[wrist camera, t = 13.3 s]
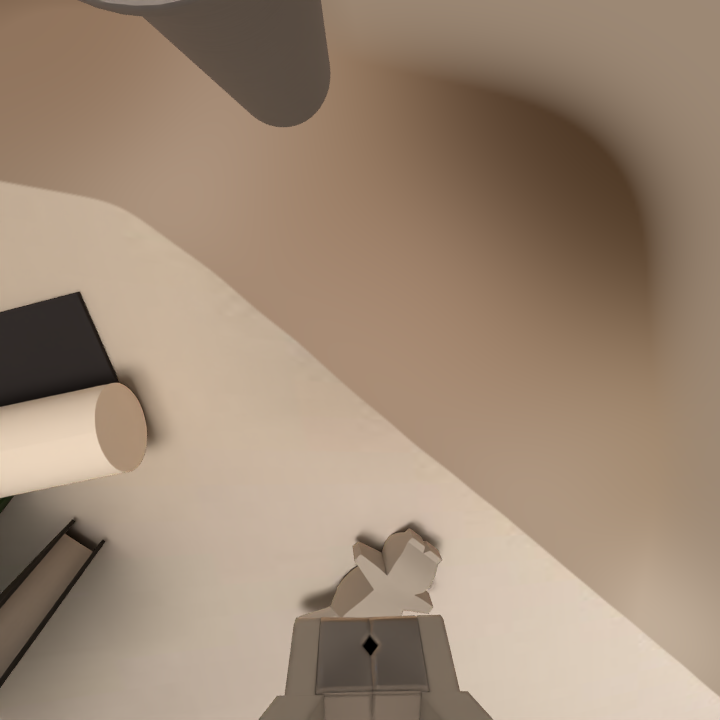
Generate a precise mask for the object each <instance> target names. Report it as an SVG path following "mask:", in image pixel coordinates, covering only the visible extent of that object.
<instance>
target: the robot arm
mask: <svg viewBox="0 0 720 720" xmlns="http://www.w3.org/2000/svg"><path fill="white" fill-rule="evenodd" d="M259 720H493V719H492V718H491V717H490V716H489V714H488V713H487V712H486V711H485V710H484V709H483V708H482V707H481V706H480V705H479V703H478V702H477V701H476V700H475V699H474V698H473V697H472V696H471V695H470V693H469V692H468V691H460V689H459V685H458V681H457V677H456V672H455V668H454V664H453V659H452V655H451V651H450V646H449V642H448V638H447V633H446V629H445V625H444V620H443V618H442V617H441V615H419V616H415V615H413V616H382V617H368V618H356V617H321V618H296V620H295V623H294V627H293V635H292V643H291V651H290V658H289V666H288V674H287V681H286V689H285V696H277V697H276V698H275V699H274V700H273V702H272V703H271V704H270V706H269V707H268V708H267V709H266V711H265V712H264V713H263V715H262V716H261V717H260V718H259Z"/></svg>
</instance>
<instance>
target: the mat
mask: <svg viewBox="0 0 720 720" xmlns="http://www.w3.org/2000/svg"><path fill="white" fill-rule="evenodd" d="M110 383H119V381H118V379H117V377H116V375H115V372H114V370H113V368H112V365H111V363H110V361H109V359H108V356H107V354H106V352H105V350H104V347H103V345H102V343H101V340H100V338H99V336H98V334H97V331H96V329H95V327H94V325H93V322H92V320H91V318H90V315H89V313H88V311H87V309H86V306H85V304H84V302H83V300H82V297H81V295H80V293H79V292H77V293H73V294H69V295H65V296H61V297H57V298H54V299H50V300H46V301H42V302H38V303H34V304H31V305H27V306H23V307H19V308H15V309H11V310H7V311H4V312H0V407H2V406H7V405H12V404H16V403H21V402H26V401H30V400H35V399H40V398H45V397H49V396H54V395H59V394H63V393H68V392H73V391H77V390H82V389H87V388H92V387H96V386H101V385H106V384H110Z"/></svg>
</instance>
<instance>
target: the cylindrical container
mask: <svg viewBox="0 0 720 720" xmlns="http://www.w3.org/2000/svg"><path fill="white" fill-rule="evenodd" d="M146 446H147V427H146V421H145V417H144V413H143V410H142V407H141V405H140V403H139V401H138V399H137V398H136V396H135V395H134V394H133V392H132V391H131V390H130V389H129V388H127V387H126V386H125V385H123V384H120V383H110V384H106V385H101V386H96V387H92V388H87V389H82V390H77V391H73V392H68V393H63V394H59V395H54V396H49V397H45V398H40V399H35V400H30V401H26V402H21V403H16V404H12V405H7V406H2V407H0V498H3V497H8V496H12V495H17V494H22V493H27V492H32V491H37V490H42V489H47V488H52V487H57V486H62V485H66V484H71V483H76V482H81V481H86V480H91V479H96V478H101V477H106V476H111V475H115V474H120V473H125V472H130V471H133V470H135V469H136V468H137V467H138V466H139V465H140V463H141V462H142V460H143V457H144V455H145V451H146Z"/></svg>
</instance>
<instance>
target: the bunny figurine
mask: <svg viewBox="0 0 720 720" xmlns="http://www.w3.org/2000/svg"><path fill="white" fill-rule="evenodd" d="M353 553H354V560H355V562H356V563H357V565H358V566H357V567H356V568H355V569H353V570H352V571H351V572H350V573H349V574H348V575H347V576H345V577H344V579H343V580H342V581H341V583H340V584H339V585H338V588H337V590H336V593H335V596H334V598H333V601H332V604H331V606H330V607H327V608H324V609H321V610H318V611H314V612H311V613H308V614H305V615H302V616H300V617H299V618H321V617H356V618H368V617H382V616H401V615H402V612H403V611H413V612H419V613H426V614H429V612H430V611H431V609H432V608H433V605H432V602H431V599H430V596H429V593H428V592H427V591H426V590H427V589H428V588H429V587H430V586H431V584H432V582H433V580H434V577H435V574H436V570H437V567H438V564H439V563H440V562H441V561H442V558H441V556H440V553H439V551H438V550H437V549H436V548H435V547H434V546H432V545H431V544H430V543H428V542H427V541H425V542H423V540H422V538H421V536H419V535H418V534H417V533H415V532H414V531H413V530H411V529H410V528H409V529H408V530H407V531H406V532H400V533H395V534H393V535H391V536H389V537H388V539H387V540H386V542H385V544H384V547H383V550H382V552H380V551H378V550H376V549H373V548H371V547H369V546H367V545H365V544H363V543H361V542H357V543H356V544H355V545H353Z"/></svg>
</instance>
